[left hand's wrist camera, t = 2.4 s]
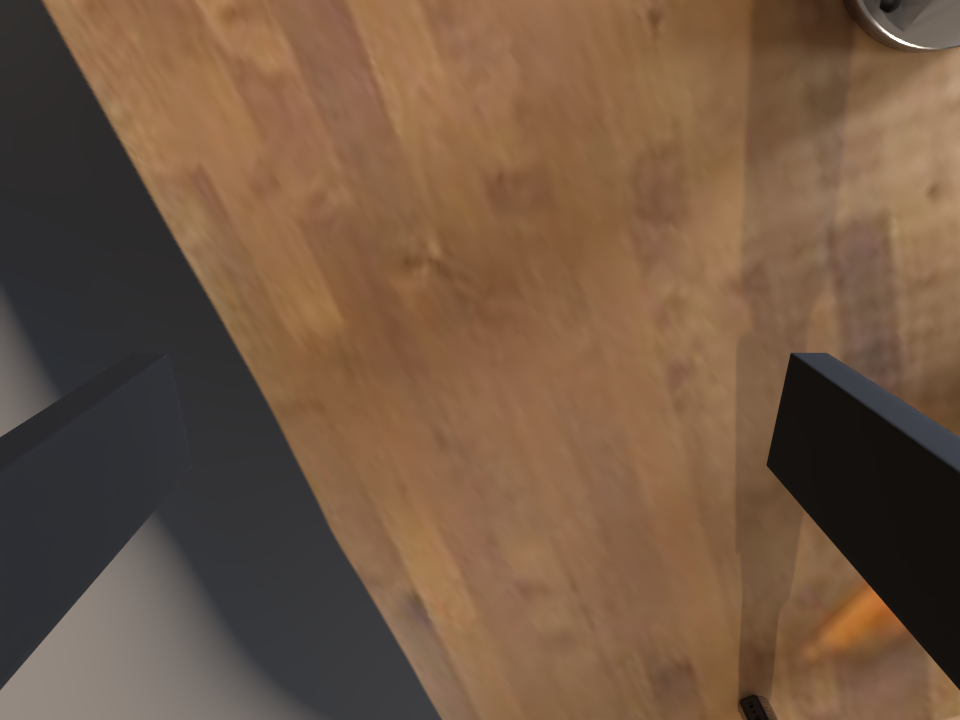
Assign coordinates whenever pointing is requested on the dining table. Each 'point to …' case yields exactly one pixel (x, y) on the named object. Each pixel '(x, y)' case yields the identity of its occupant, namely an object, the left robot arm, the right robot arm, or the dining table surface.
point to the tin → (766, 706)
